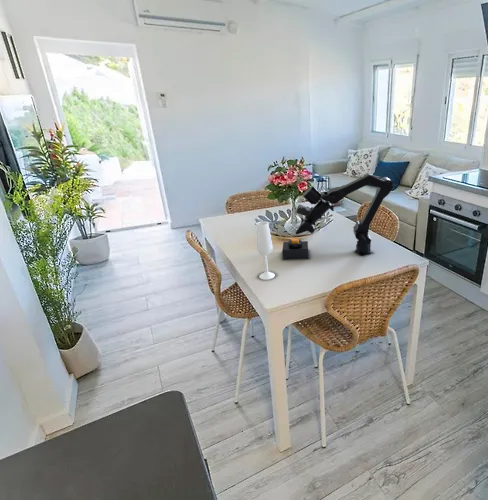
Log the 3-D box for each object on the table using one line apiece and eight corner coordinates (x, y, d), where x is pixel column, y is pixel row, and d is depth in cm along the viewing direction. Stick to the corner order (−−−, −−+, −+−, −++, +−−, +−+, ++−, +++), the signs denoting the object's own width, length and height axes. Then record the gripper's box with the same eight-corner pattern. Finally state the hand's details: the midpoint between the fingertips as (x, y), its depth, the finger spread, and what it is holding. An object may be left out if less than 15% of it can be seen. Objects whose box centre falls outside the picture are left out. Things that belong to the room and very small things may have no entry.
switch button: (299, 241, 170) (298, 237, 169) (299, 243, 166) (298, 240, 166) (291, 241, 169) (291, 238, 169) (291, 244, 166) (291, 240, 165)
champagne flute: (256, 275, 150) (250, 223, 140) (269, 270, 155) (264, 219, 145) (265, 281, 146) (260, 227, 136) (278, 275, 150) (274, 223, 141)
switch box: (308, 250, 176) (307, 237, 173) (308, 258, 167) (308, 245, 164) (284, 251, 174) (283, 238, 171) (283, 259, 165) (282, 246, 162)
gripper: (305, 194, 168) (284, 216, 172) (306, 204, 152) (282, 229, 155) (322, 209, 173) (300, 230, 176) (324, 221, 156) (300, 245, 159)
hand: (296, 233), depth 166 cm, fingers closed
